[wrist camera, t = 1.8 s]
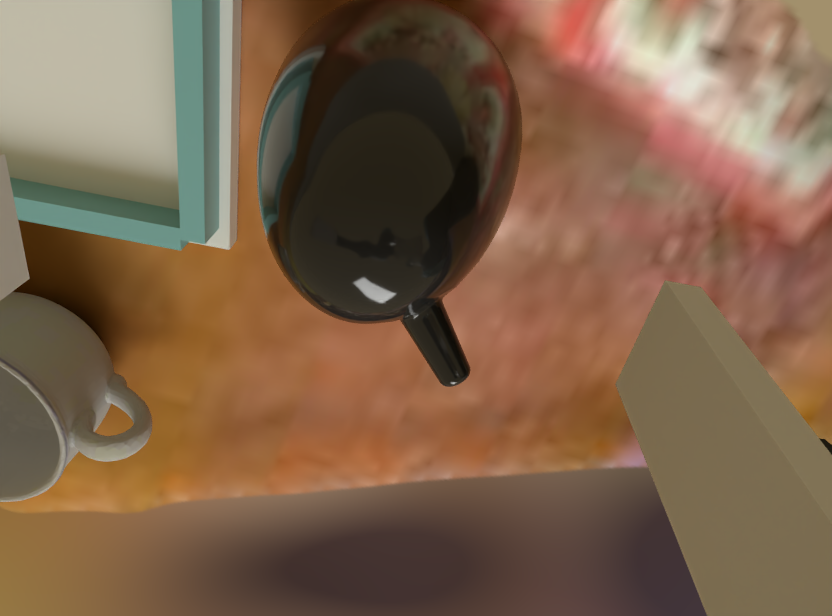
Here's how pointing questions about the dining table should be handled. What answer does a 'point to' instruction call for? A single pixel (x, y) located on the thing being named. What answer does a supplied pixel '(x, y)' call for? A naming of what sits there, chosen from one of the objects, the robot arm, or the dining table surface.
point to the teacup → (56, 396)
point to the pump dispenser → (389, 165)
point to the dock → (123, 117)
